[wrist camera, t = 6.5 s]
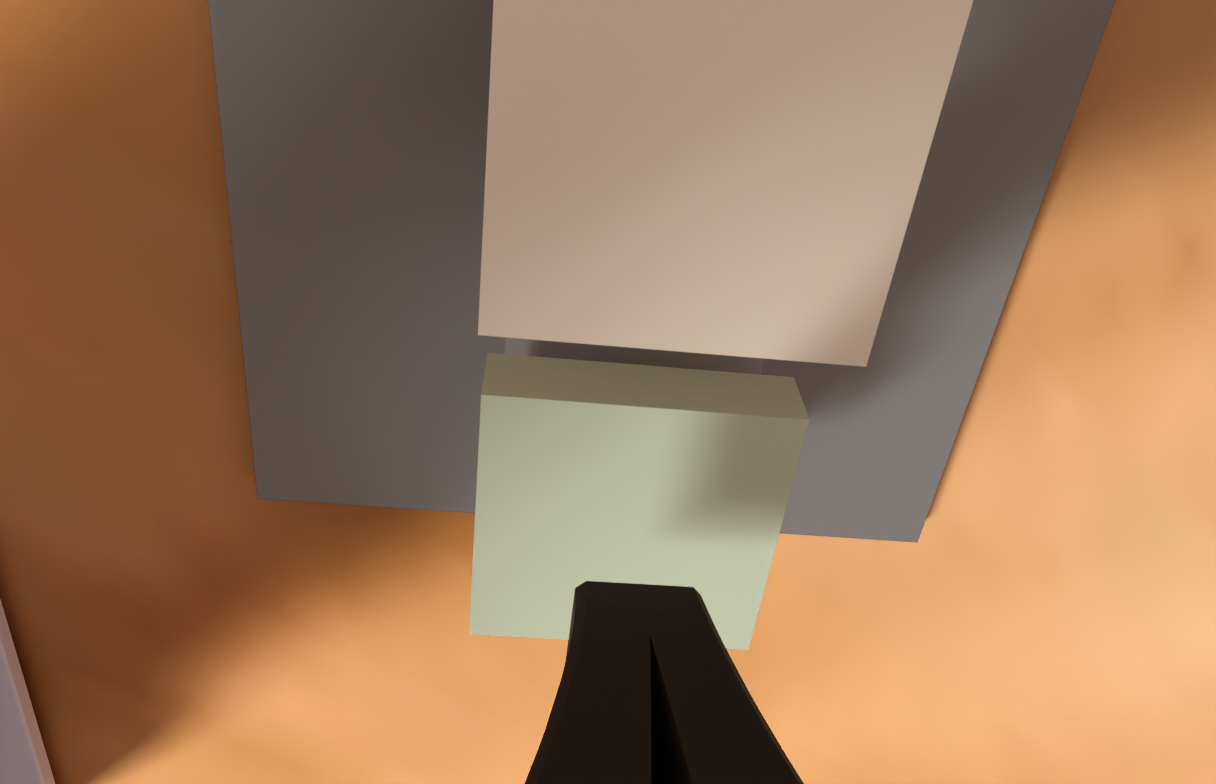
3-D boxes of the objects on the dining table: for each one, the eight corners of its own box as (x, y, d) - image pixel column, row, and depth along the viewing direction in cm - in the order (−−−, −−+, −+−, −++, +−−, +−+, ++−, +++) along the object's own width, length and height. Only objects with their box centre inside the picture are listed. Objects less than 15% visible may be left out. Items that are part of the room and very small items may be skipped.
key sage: (717, 497, 17) (748, 649, 14) (487, 481, 17) (469, 634, 14) (762, 291, 15) (809, 419, 12) (499, 268, 15) (481, 394, 12)
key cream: (799, 233, 13) (865, 366, 10) (499, 204, 13) (478, 335, 10) (876, -99, 11) (989, -52, 8) (518, -142, 11) (498, -111, 8)
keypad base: (911, 528, 19) (952, 621, 17) (263, 484, 18) (223, 577, 15) (1389, -808, 10) (1607, -963, 8) (117, -1057, 9) (-25, -1316, 7)
